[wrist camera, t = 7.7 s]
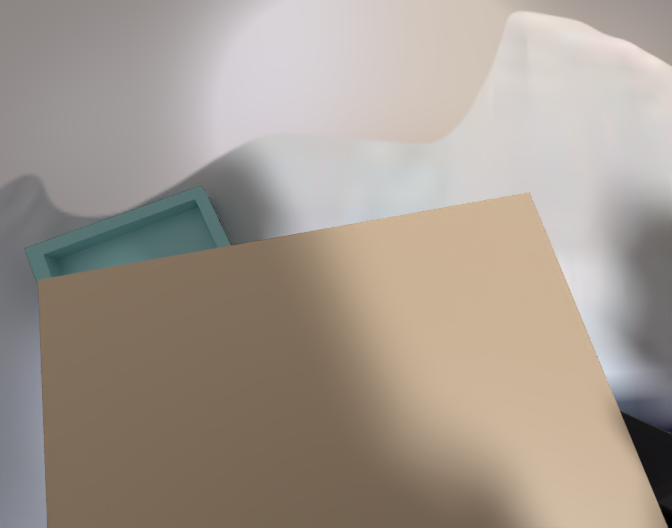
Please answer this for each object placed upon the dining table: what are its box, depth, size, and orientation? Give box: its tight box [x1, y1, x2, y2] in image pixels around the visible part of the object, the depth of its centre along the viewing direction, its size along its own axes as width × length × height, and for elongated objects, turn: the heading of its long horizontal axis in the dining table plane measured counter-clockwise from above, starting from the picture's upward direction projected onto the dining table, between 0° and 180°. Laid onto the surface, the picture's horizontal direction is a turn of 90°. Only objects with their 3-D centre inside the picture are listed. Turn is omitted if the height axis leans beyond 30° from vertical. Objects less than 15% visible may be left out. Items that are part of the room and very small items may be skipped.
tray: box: [24, 185, 231, 285], centre depth 19 cm, size 11×11×2 cm
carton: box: [38, 192, 668, 528], centre depth 8 cm, size 6×6×12 cm
